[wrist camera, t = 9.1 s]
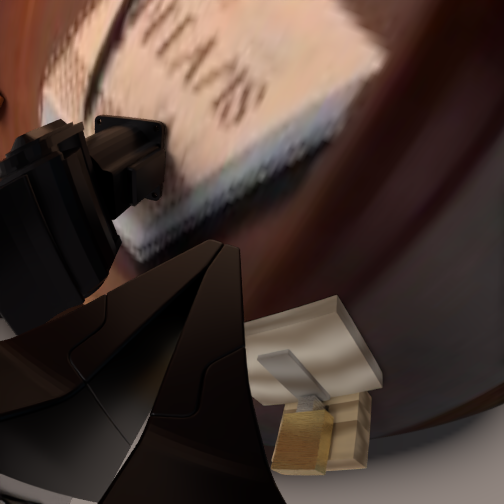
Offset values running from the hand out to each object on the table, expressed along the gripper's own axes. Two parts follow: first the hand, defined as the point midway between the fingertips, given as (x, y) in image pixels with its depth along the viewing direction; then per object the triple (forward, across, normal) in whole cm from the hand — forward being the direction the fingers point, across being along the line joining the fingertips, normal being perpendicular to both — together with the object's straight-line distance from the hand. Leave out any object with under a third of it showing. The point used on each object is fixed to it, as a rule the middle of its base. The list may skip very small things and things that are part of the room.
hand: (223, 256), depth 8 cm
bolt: (+10, -12, +27) cm, 31 cm away
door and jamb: (+13, -8, +24) cm, 29 cm away
